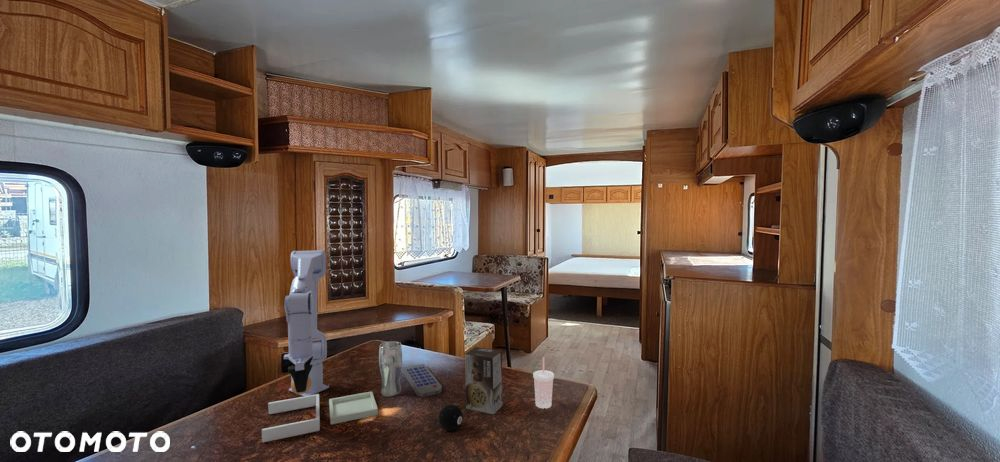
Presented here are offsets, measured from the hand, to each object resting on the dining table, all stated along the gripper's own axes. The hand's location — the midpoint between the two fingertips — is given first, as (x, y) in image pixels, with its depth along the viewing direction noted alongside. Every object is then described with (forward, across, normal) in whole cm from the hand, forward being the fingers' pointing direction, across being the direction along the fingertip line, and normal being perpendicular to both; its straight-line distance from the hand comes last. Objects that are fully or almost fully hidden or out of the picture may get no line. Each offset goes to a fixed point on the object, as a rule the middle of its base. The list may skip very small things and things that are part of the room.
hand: (301, 387), depth 108 cm
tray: (+9, 0, +13) cm, 16 cm away
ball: (+2, 0, 0) cm, 2 cm away
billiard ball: (+9, +21, +35) cm, 42 cm away
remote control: (+10, -12, +35) cm, 38 cm away
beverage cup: (+9, +19, +64) cm, 67 cm away
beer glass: (+9, -7, +24) cm, 27 cm away
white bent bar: (+9, 0, -2) cm, 9 cm away
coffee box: (+9, +14, +47) cm, 50 cm away
